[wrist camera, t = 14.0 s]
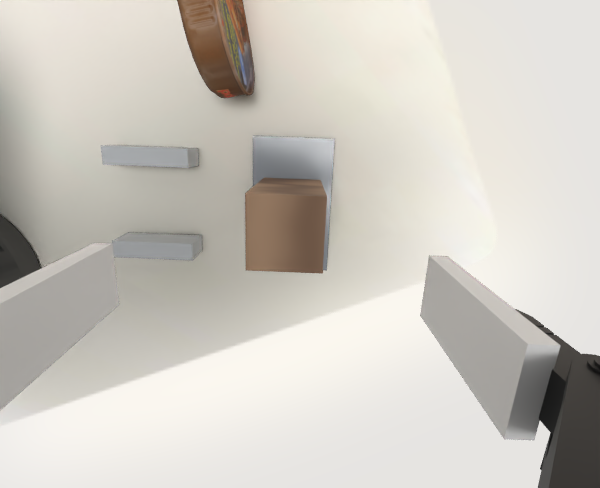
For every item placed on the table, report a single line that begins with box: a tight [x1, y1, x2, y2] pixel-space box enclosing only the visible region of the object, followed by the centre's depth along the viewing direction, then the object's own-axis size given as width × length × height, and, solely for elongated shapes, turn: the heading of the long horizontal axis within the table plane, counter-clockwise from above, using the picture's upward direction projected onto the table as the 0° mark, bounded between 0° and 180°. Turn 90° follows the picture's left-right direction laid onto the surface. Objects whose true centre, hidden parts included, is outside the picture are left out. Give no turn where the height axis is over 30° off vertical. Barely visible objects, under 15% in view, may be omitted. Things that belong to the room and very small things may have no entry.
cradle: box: [101, 145, 202, 260], centre depth 31 cm, size 7×10×3 cm
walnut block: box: [245, 178, 327, 273], centre depth 27 cm, size 5×5×10 cm
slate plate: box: [253, 136, 335, 270], centre depth 32 cm, size 7×12×1 cm, turn 178°
